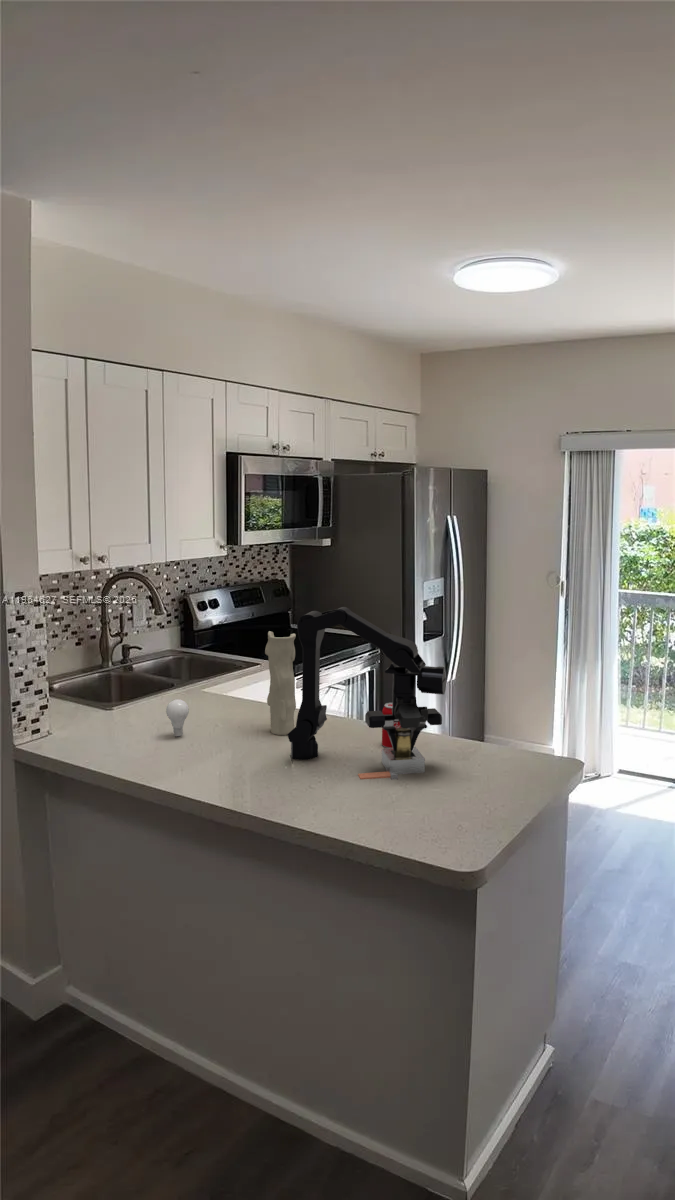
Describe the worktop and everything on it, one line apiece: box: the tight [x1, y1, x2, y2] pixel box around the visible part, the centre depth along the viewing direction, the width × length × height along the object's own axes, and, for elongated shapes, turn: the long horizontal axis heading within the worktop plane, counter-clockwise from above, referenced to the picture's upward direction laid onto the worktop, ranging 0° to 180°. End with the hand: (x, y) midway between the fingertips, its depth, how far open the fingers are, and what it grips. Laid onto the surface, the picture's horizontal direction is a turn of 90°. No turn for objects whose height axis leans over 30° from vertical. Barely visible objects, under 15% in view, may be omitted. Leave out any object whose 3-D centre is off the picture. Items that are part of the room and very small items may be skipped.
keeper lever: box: [357, 771, 394, 780], centre depth 205 cm, size 9×4×1 cm, turn 100°
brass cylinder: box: [395, 728, 411, 758], centre depth 210 cm, size 4×4×7 cm
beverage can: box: [381, 702, 402, 748], centre depth 229 cm, size 6×6×12 cm
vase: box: [264, 630, 297, 736], centre depth 241 cm, size 9×8×30 cm
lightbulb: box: [165, 698, 190, 738], centre depth 237 cm, size 6×6×11 cm
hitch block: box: [381, 746, 426, 775], centre depth 211 cm, size 9×9×4 cm
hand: (402, 750), depth 211 cm, fingers closed on brass cylinder, 4 cm apart
